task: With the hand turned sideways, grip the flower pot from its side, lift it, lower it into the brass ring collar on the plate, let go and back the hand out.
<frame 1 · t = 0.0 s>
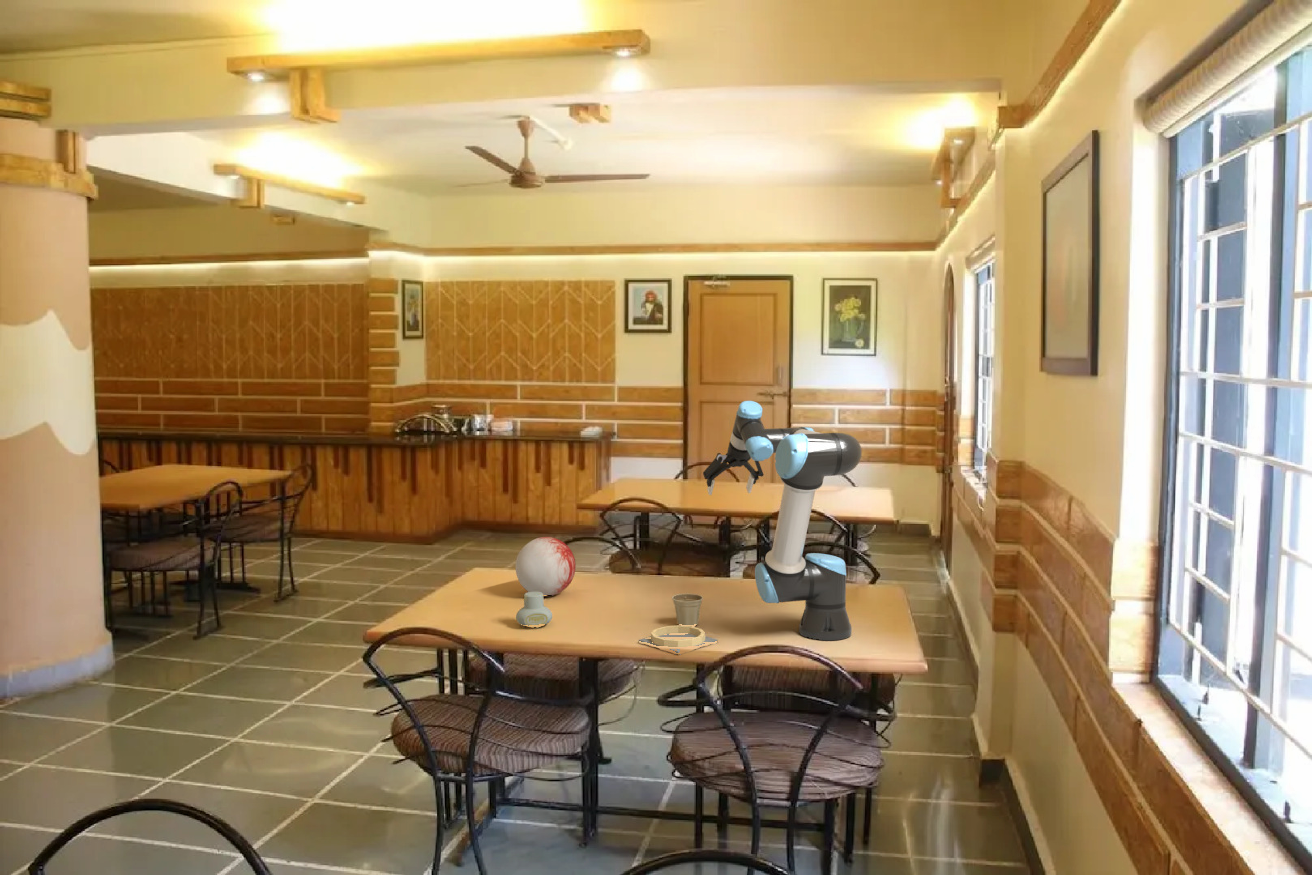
hand: (728, 491, 343), 36 cm above the table, tool tilted 35°, fingers open, 13 cm apart
collar plate: (678, 643, 296), on the table
decorative orb: (545, 596, 352), on the table
flower pot: (687, 625, 314), on the table
air freshener: (534, 626, 316), on the table
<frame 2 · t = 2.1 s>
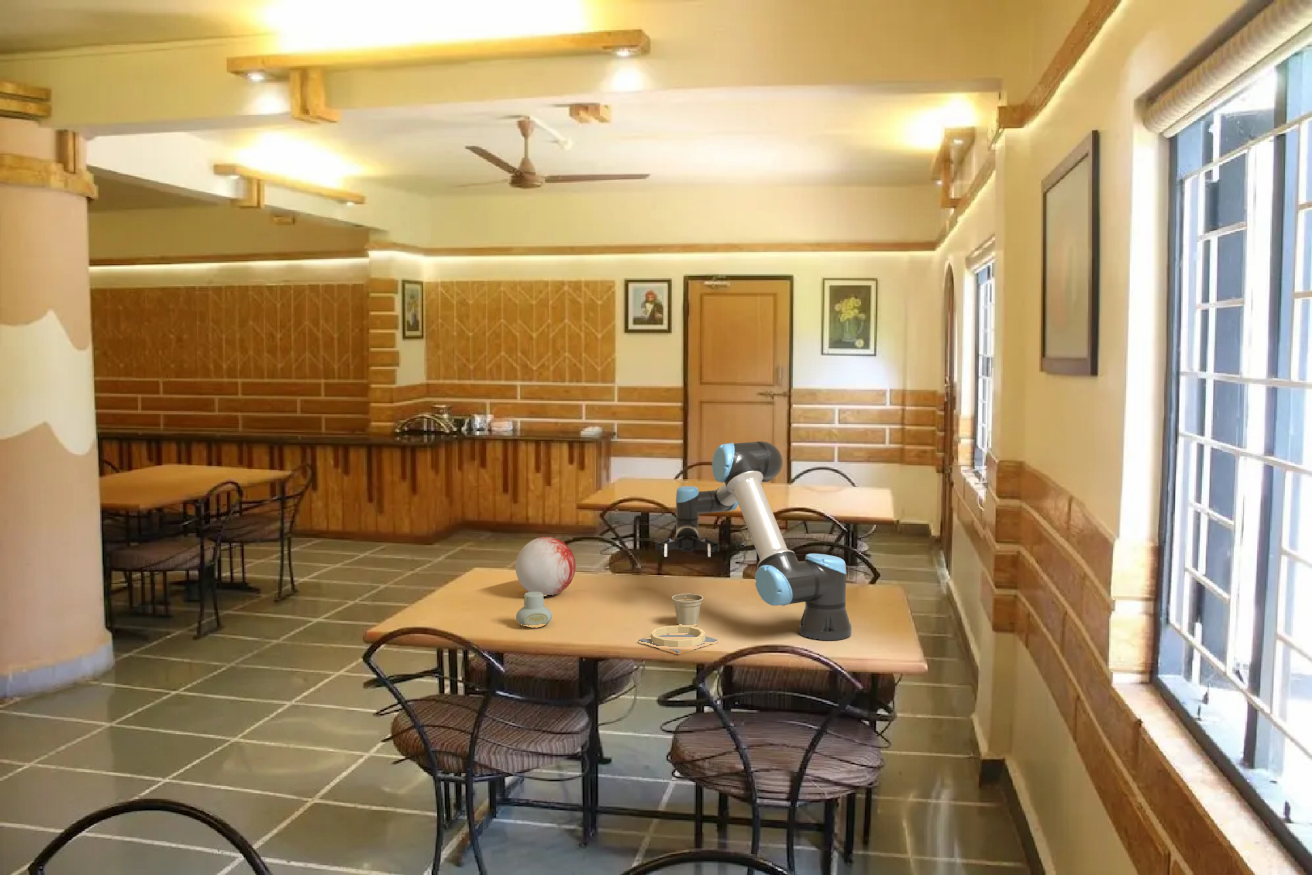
hand: (687, 552, 322), 20 cm above the table, tool horizontal, fingers open, 13 cm apart
nothing on the table moved.
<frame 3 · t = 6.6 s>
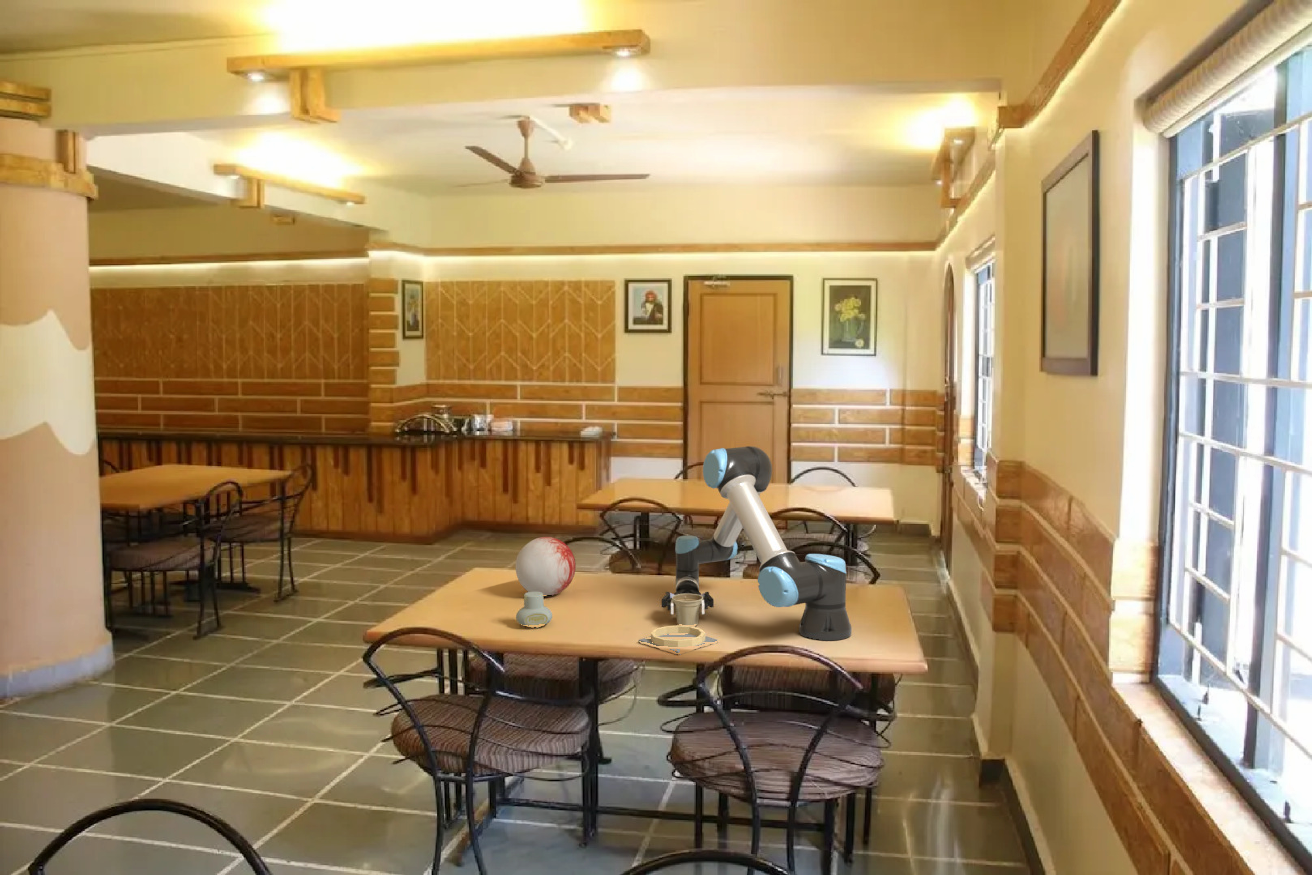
hand: (687, 609, 309), 6 cm above the table, tool horizontal, fingers closed on flower pot, 8 cm apart
flower pot: (687, 625, 314), on the table, touching gripper
everything else where it was.
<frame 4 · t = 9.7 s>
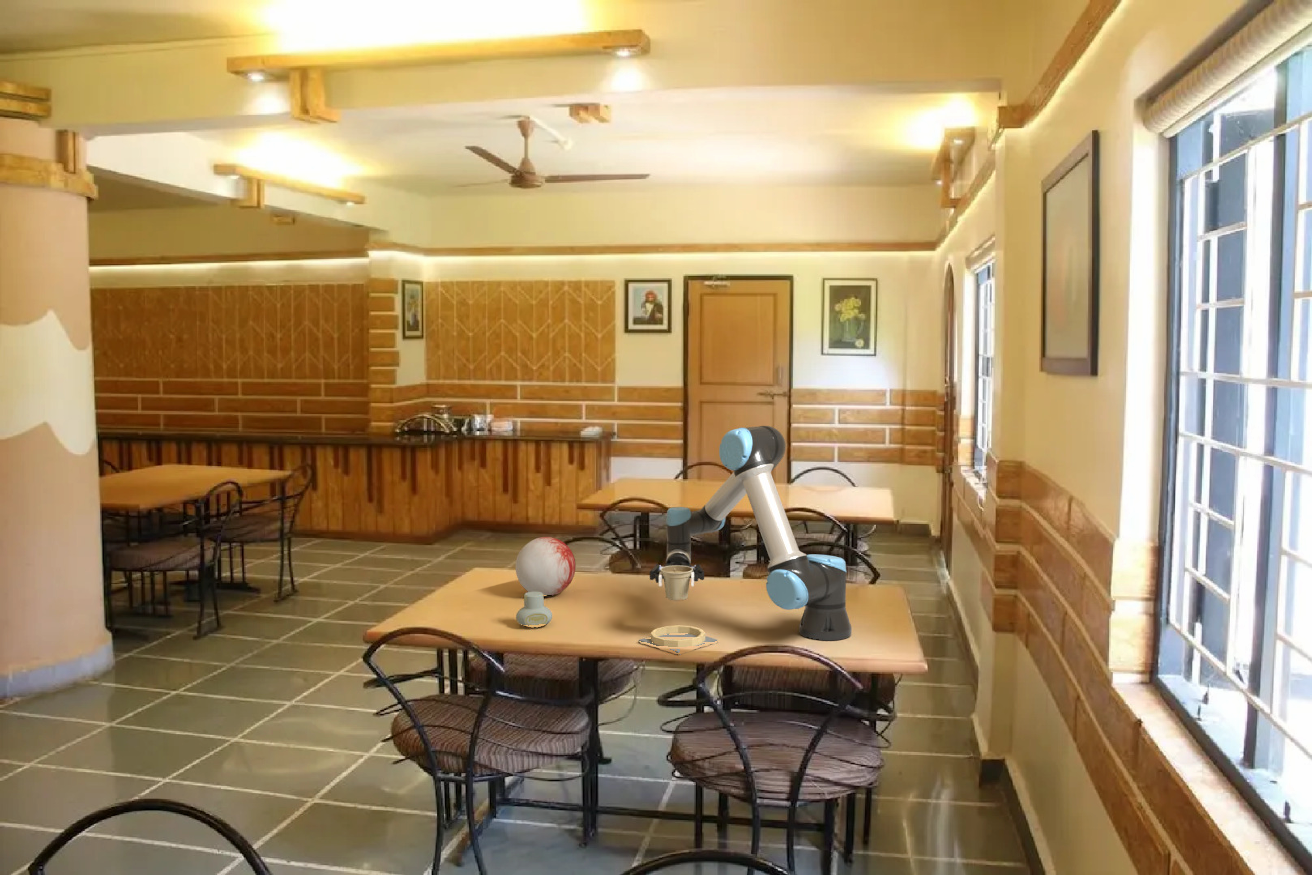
hand: (676, 581, 295), 18 cm above the table, tool horizontal, fingers closed on flower pot, 8 cm apart
flower pot: (676, 598, 300), point 12 cm above the table, touching gripper
everything else where it was.
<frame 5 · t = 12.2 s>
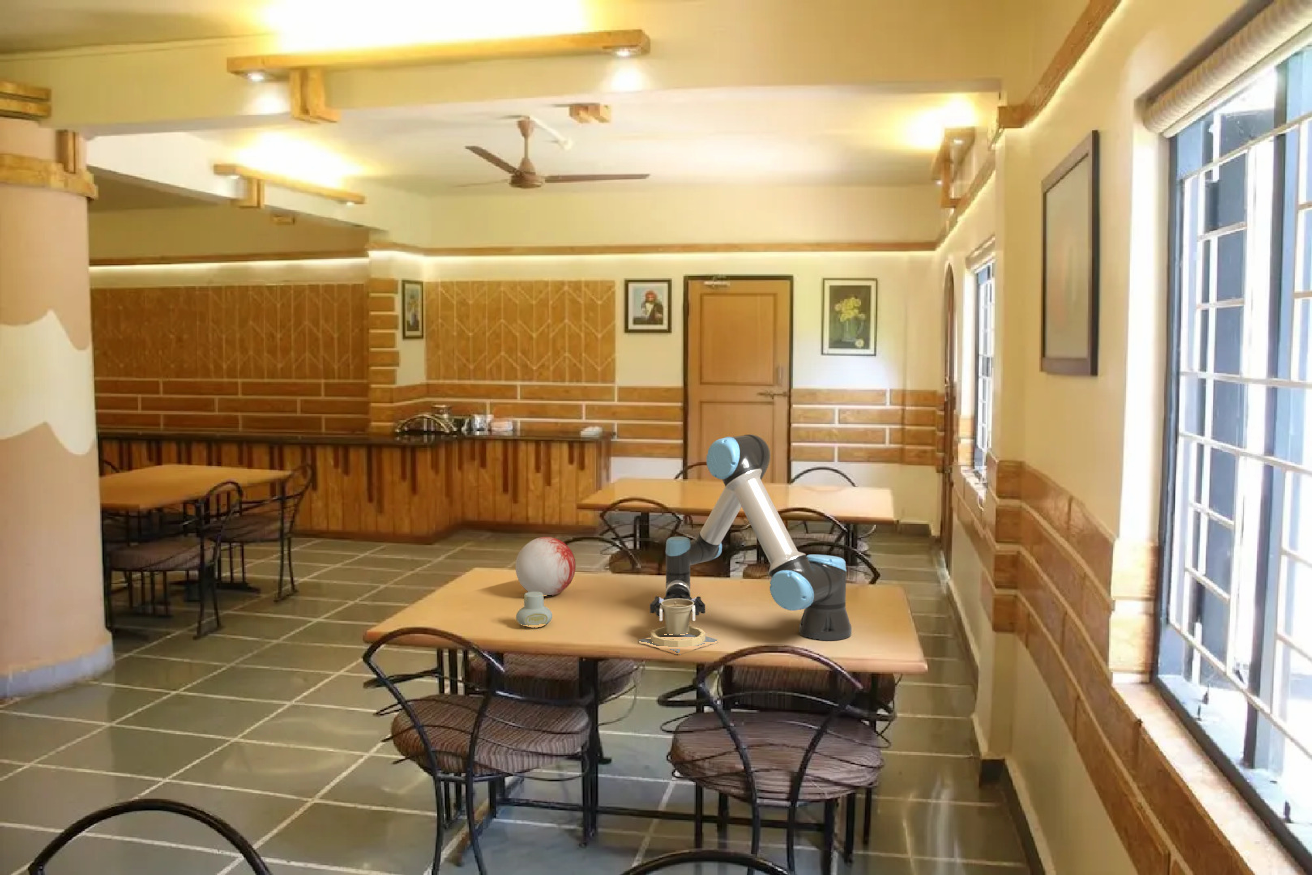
hand: (677, 616, 291), 9 cm above the table, tool horizontal, fingers closed on flower pot, 8 cm apart
flower pot: (677, 632, 296), point 3 cm above the table, touching gripper
everything else where it was.
when the fingers open (8 cm above the table, at t = 13.0 s): flower pot moves 3 cm, resting on collar plate.
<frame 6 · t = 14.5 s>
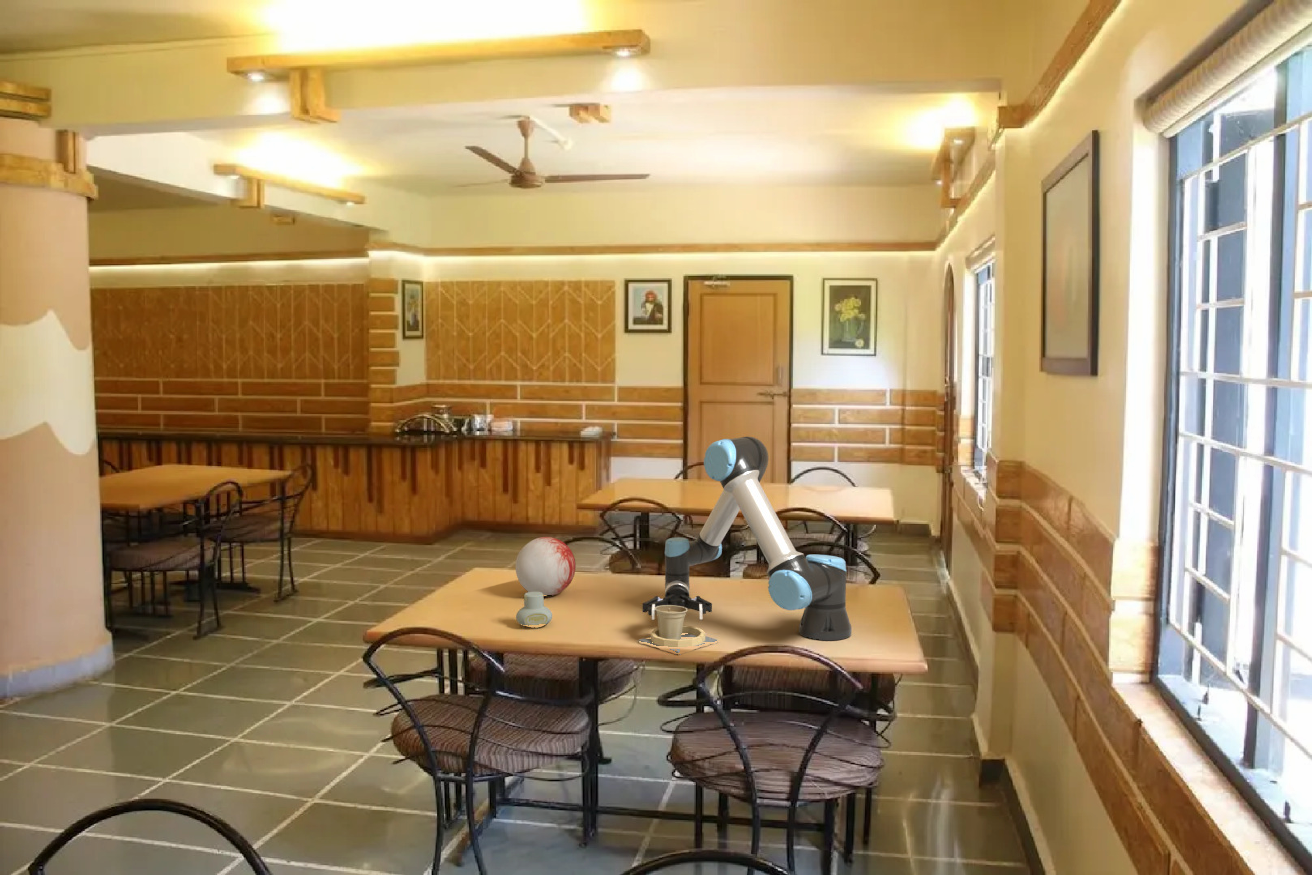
hand: (677, 614, 294), 9 cm above the table, tool horizontal, fingers open, 13 cm apart
flower pot: (669, 639, 297), point 1 cm above the table, touching collar plate, gripper
everything else where it was.
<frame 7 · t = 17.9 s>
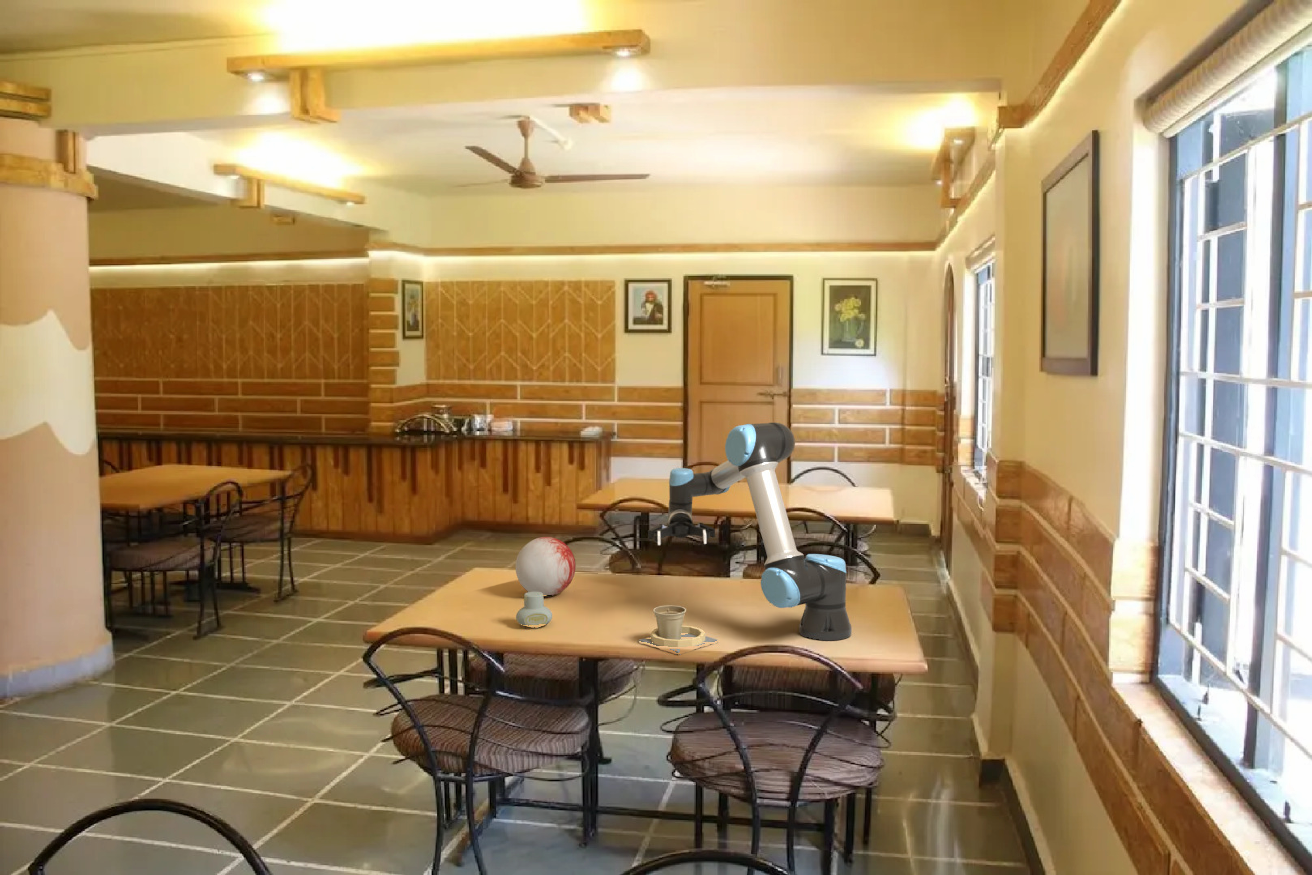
hand: (682, 540, 305), 27 cm above the table, tool horizontal, fingers open, 13 cm apart
flower pot: (669, 639, 297), point 1 cm above the table, touching collar plate
everything else where it was.
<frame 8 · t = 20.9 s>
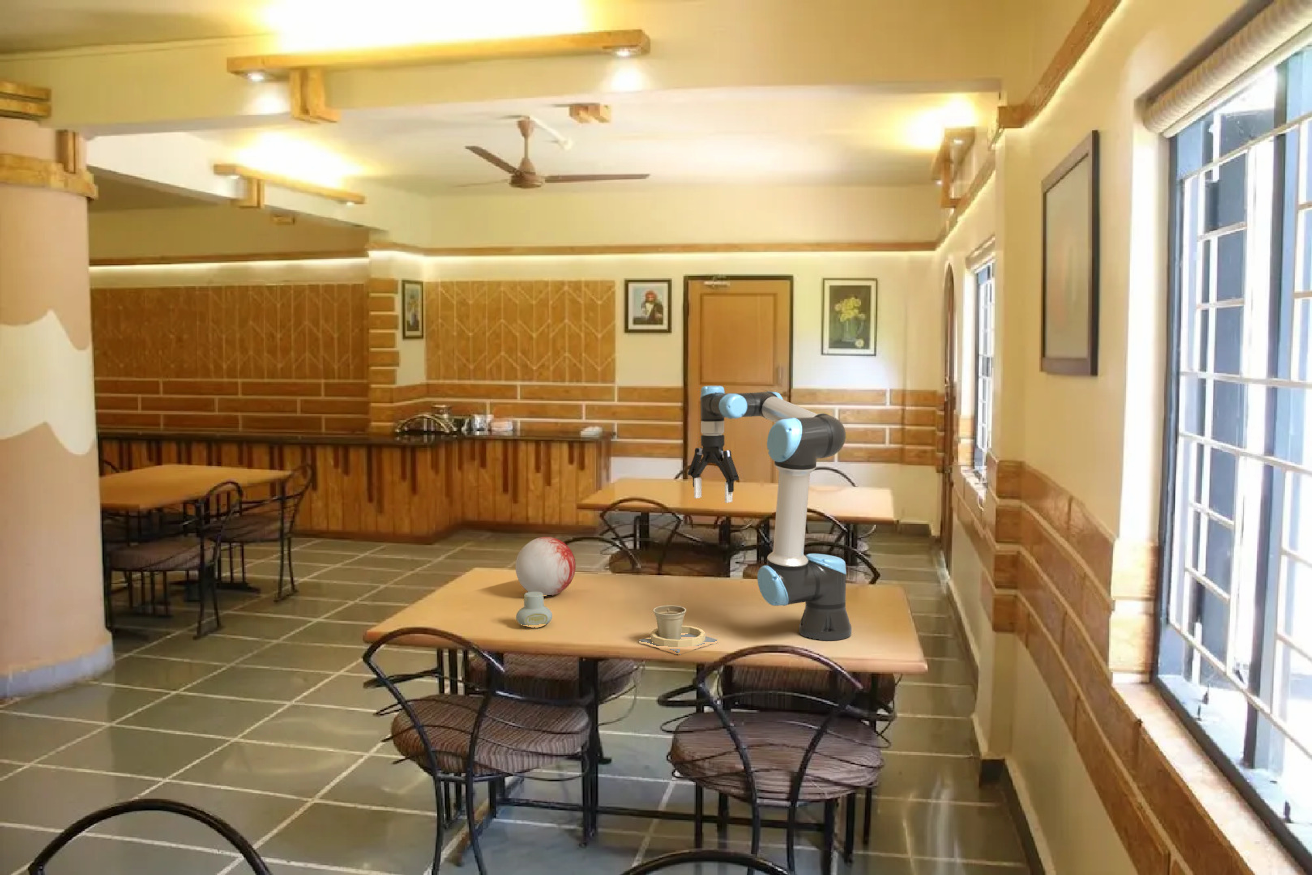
hand: (713, 500, 333), 35 cm above the table, tool pointing down, fingers open, 13 cm apart
nothing on the table moved.
at the end: flower pot 2.4 cm off-centre on the collar plate, point 0.8 cm above the collar plate's base; flower pot tilted 0°; the gripper is holding nothing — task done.
